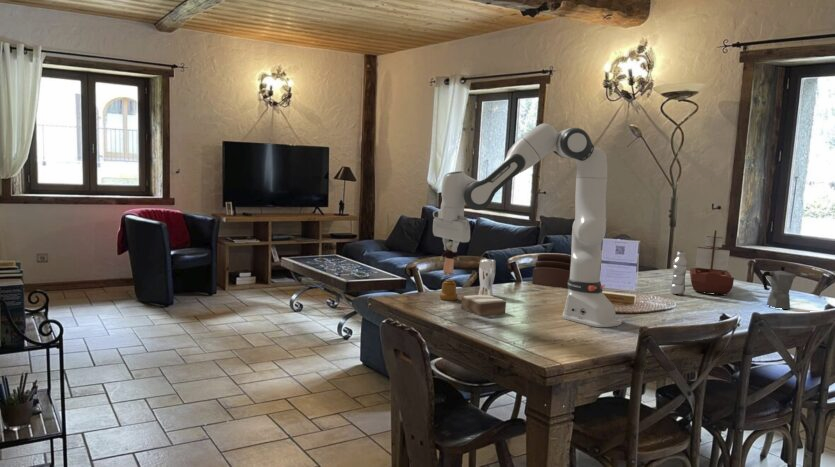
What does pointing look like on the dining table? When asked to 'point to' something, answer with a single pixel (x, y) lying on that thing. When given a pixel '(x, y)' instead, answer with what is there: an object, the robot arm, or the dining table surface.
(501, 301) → the plinth
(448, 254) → the grandmother figurine
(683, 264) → the plastic bottle
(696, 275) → the sailing ship
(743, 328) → the dining table surface
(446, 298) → the ornamental finial
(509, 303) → the dining table surface
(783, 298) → the coffeepot
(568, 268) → the letter holder
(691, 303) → the dining table surface
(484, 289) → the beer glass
